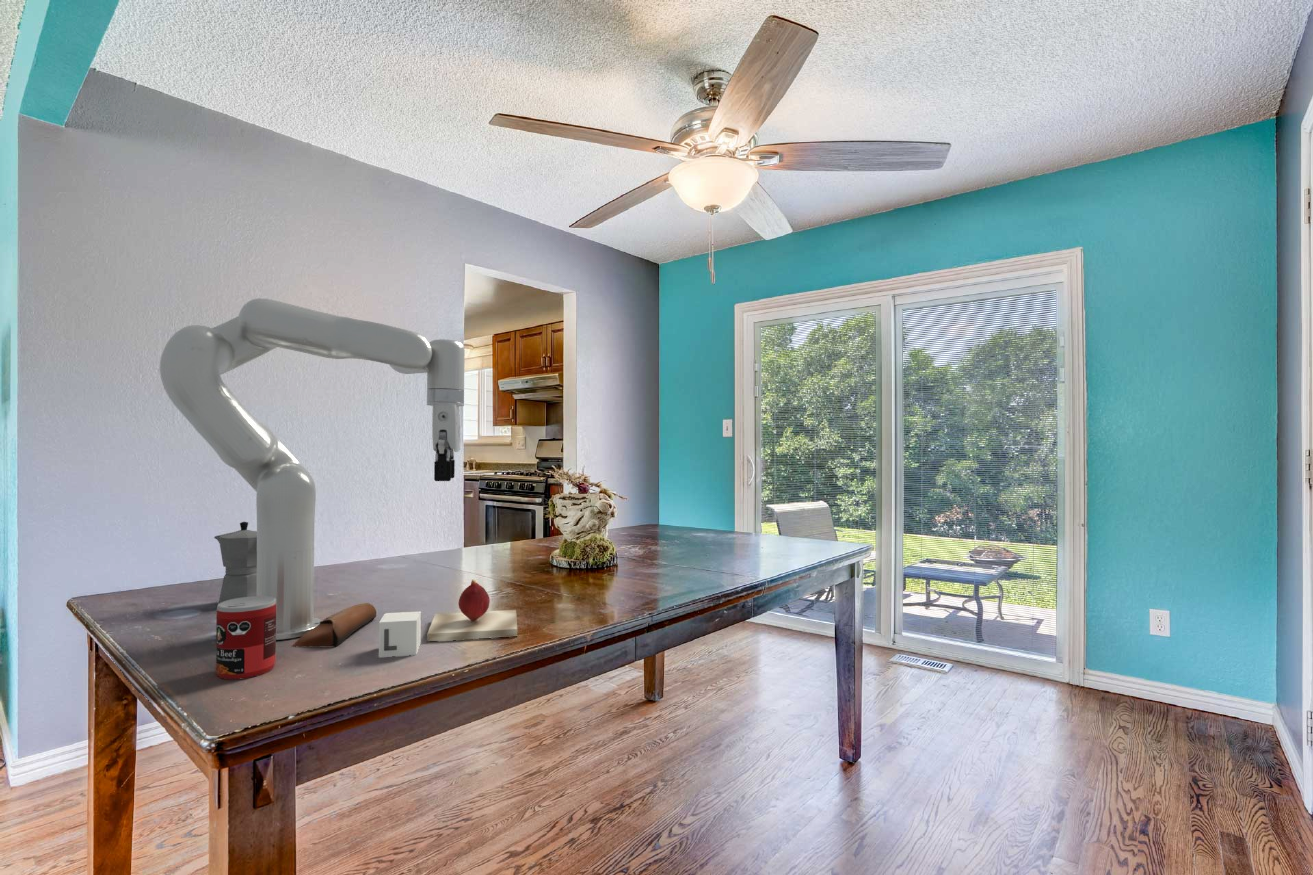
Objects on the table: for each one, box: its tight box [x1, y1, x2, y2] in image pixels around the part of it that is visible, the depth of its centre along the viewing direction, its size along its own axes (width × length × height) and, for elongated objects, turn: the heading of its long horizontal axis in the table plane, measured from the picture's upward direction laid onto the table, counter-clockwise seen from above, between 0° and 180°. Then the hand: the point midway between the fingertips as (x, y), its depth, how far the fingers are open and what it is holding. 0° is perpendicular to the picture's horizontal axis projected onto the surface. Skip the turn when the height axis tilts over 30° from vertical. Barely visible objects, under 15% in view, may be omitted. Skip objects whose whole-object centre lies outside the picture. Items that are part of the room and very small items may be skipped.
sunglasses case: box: [292, 602, 377, 648], centre depth 124 cm, size 18×7×7 cm
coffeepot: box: [213, 521, 257, 605], centre depth 145 cm, size 15×9×18 cm, turn 87°
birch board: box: [426, 609, 518, 642], centre depth 127 cm, size 16×14×2 cm
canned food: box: [215, 596, 277, 680], centre depth 103 cm, size 8×8×11 cm
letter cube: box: [378, 611, 422, 658], centre depth 114 cm, size 6×6×6 cm
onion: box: [458, 579, 491, 621], centre depth 127 cm, size 6×6×8 cm
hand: (444, 479), depth 139 cm, fingers open, 9 cm apart
